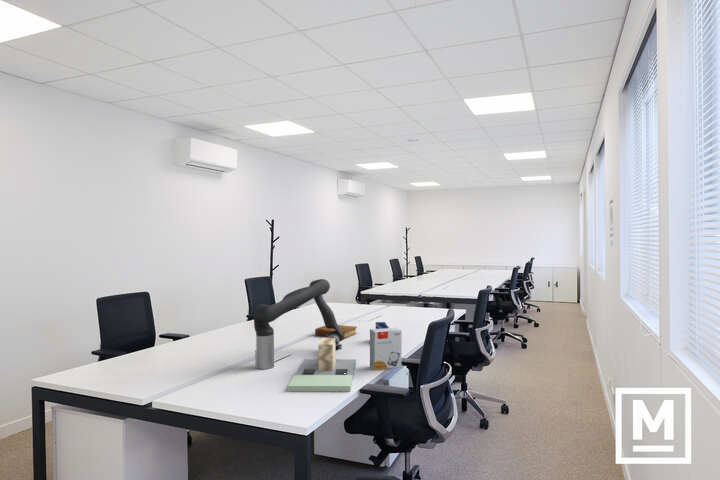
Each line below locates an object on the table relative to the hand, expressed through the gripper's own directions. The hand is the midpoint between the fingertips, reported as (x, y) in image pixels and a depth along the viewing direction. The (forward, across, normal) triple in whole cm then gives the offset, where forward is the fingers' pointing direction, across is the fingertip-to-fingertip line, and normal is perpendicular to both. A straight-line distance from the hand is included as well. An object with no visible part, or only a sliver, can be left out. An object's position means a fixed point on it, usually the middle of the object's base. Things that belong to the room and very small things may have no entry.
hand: (328, 350), depth 243 cm
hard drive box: (0, +30, +9) cm, 31 cm away
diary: (-78, -4, +9) cm, 79 cm away
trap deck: (+16, 0, +9) cm, 18 cm away
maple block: (+8, 0, +6) cm, 10 cm away
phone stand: (-57, +30, +9) cm, 65 cm away
